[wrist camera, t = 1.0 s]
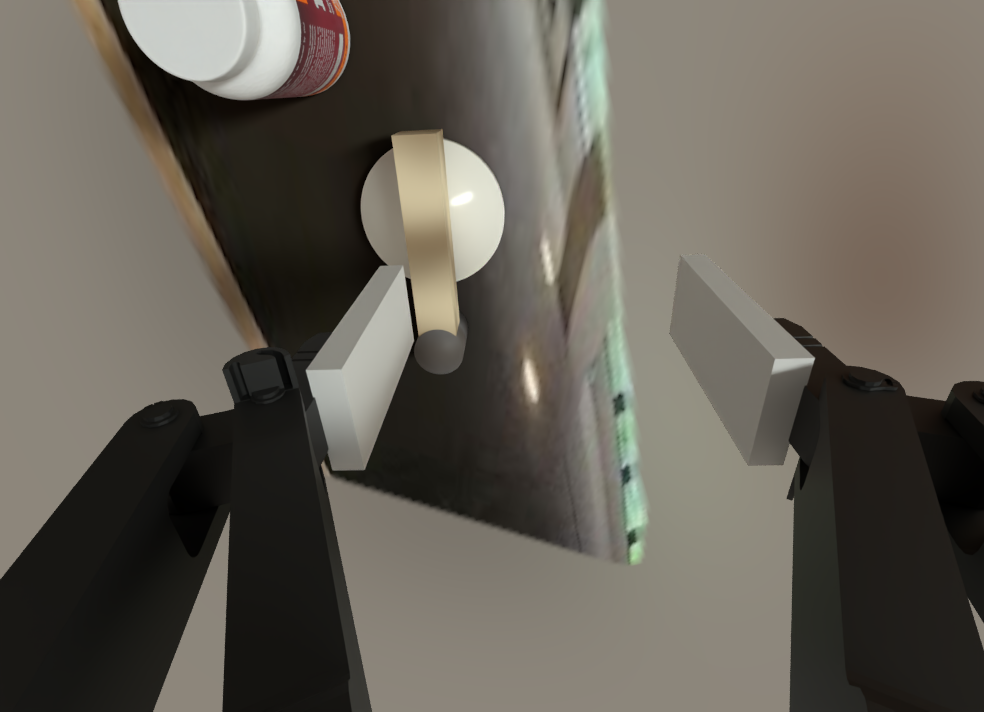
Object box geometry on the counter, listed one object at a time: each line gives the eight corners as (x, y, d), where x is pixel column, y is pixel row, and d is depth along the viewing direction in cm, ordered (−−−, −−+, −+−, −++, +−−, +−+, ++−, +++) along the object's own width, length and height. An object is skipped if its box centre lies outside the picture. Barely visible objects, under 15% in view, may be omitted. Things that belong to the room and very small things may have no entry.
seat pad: (353, 140, 30) (348, 142, 30) (501, 132, 30) (501, 134, 29) (377, 281, 35) (373, 286, 34) (507, 276, 34) (506, 281, 33)
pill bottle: (368, 0, 27) (286, -42, 17) (335, 115, 30) (249, 133, 20) (253, -62, 26) (99, -144, 16) (231, 63, 29) (87, 57, 19)
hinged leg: (469, 345, 37) (465, 373, 33) (426, 347, 37) (417, 374, 33) (451, 126, 30) (443, 133, 26) (398, 129, 30) (383, 136, 26)
